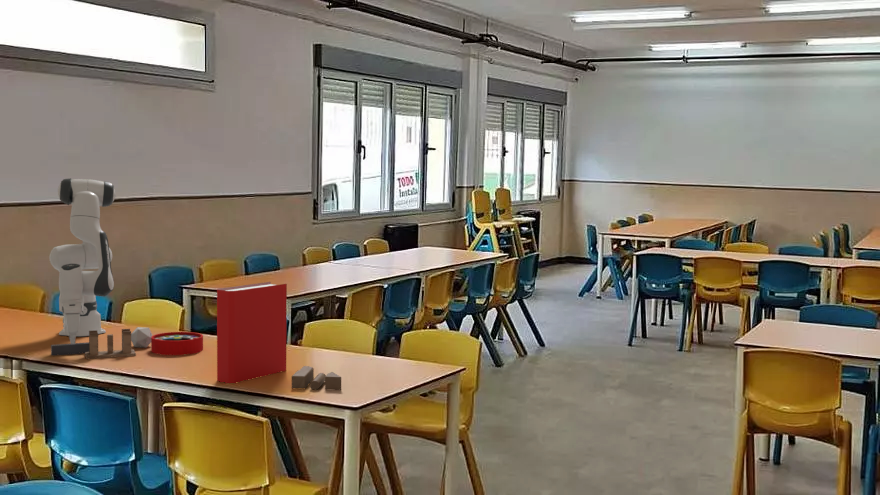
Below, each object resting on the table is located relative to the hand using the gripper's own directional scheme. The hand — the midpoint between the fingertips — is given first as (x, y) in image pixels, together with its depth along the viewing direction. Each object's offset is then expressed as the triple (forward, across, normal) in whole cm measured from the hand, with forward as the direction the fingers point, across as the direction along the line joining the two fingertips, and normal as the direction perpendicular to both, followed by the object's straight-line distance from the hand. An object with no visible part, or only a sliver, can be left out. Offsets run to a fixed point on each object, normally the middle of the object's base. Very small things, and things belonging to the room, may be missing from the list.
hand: (72, 341), depth 364 cm
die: (+5, -6, +26) cm, 28 cm away
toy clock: (+6, +5, +39) cm, 40 cm away
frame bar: (+5, -1, -1) cm, 5 cm away
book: (+6, +59, +57) cm, 82 cm away
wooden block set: (+7, +79, +76) cm, 110 cm away
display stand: (+5, +8, +13) cm, 16 cm away
